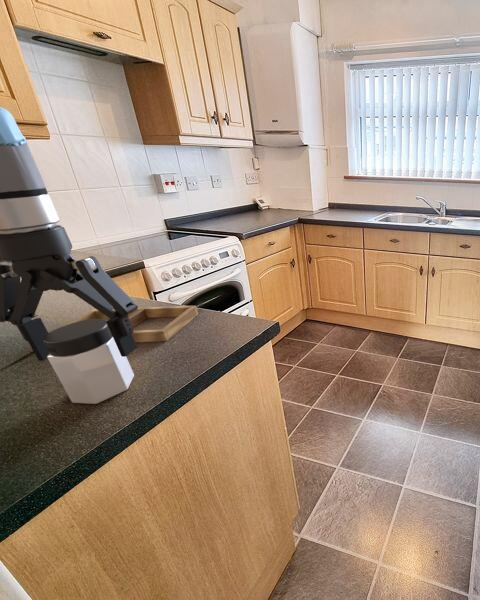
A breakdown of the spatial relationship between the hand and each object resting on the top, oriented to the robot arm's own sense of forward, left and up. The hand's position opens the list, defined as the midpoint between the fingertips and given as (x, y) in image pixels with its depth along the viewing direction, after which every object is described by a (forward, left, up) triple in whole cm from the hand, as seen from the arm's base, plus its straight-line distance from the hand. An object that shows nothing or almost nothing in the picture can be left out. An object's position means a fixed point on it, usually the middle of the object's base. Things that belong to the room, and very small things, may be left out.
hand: (89, 354), depth 57 cm
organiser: (-12, +23, -7) cm, 27 cm away
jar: (0, 0, -8) cm, 8 cm away
